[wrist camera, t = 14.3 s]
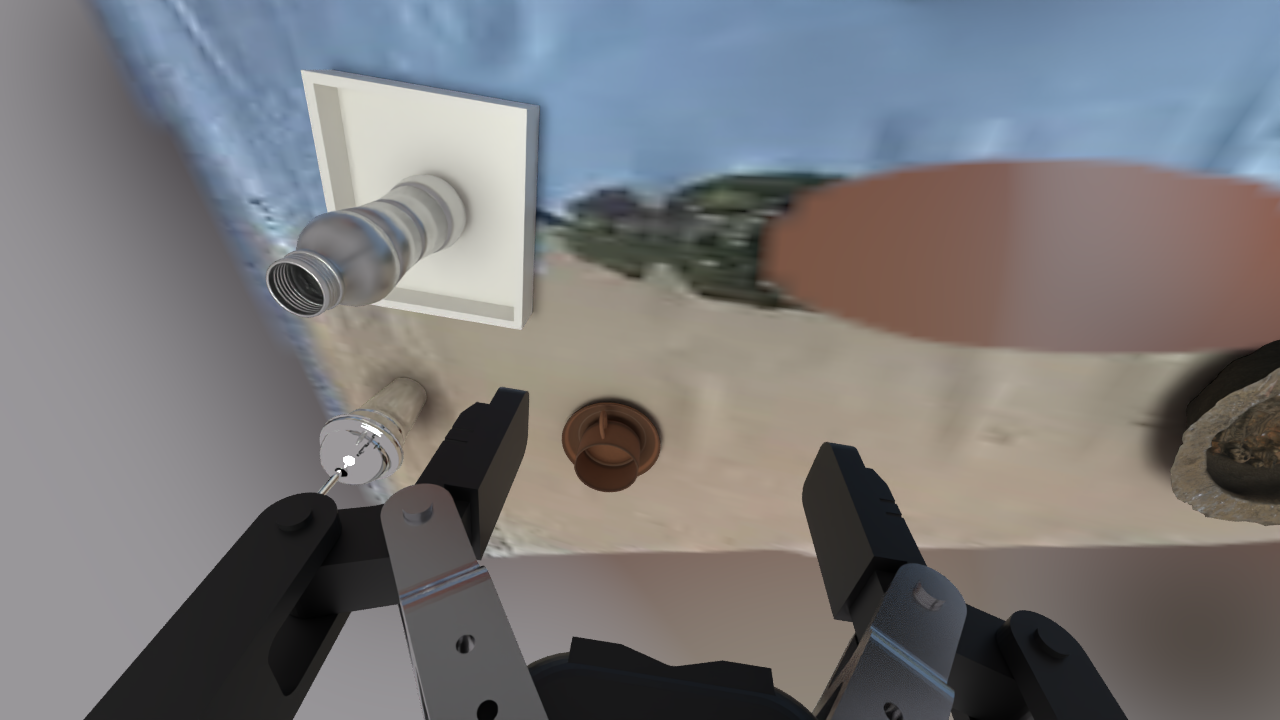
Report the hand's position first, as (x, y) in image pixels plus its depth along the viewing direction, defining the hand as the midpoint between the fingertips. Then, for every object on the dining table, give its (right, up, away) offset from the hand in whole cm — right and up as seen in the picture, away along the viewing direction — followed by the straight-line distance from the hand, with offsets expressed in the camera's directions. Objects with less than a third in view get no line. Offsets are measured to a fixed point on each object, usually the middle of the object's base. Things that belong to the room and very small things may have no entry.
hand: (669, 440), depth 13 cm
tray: (-20, +17, +34) cm, 43 cm away
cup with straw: (-29, -2, +46) cm, 55 cm away
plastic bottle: (-20, +17, +33) cm, 42 cm away
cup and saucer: (-4, -7, +47) cm, 48 cm away
